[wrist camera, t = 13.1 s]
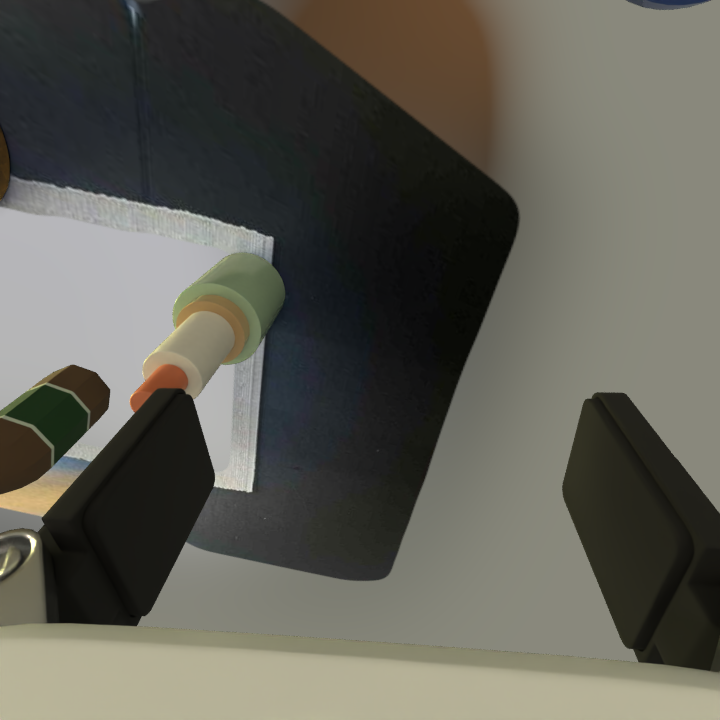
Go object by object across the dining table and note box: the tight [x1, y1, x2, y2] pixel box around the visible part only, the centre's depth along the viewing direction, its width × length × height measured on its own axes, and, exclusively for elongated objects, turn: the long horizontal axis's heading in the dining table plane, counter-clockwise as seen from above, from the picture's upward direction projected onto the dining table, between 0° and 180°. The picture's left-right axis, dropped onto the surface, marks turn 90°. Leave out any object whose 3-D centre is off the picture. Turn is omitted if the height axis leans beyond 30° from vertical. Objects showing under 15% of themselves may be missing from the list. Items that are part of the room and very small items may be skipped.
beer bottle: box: [0, 365, 110, 494], centre depth 45 cm, size 8×8×24 cm
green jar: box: [173, 253, 285, 365], centre depth 42 cm, size 8×8×10 cm
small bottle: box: [130, 311, 235, 412], centre depth 33 cm, size 4×4×10 cm
